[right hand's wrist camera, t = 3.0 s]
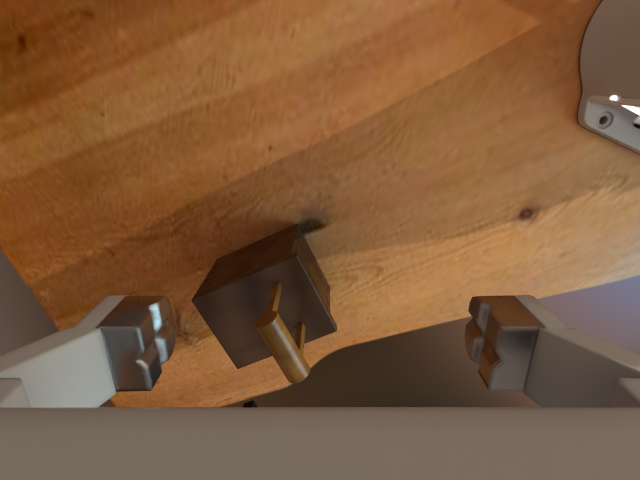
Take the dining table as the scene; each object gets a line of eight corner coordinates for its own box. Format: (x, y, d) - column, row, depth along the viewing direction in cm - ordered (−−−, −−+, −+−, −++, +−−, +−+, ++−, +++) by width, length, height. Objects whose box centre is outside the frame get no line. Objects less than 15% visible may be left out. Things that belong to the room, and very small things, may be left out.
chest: (297, 223, 45) (291, 253, 37) (329, 287, 48) (331, 327, 40) (217, 259, 47) (194, 294, 39) (253, 318, 50) (239, 362, 42)
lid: (297, 251, 37) (289, 295, 29) (336, 325, 40) (340, 384, 32) (194, 295, 39) (160, 348, 31) (239, 363, 42) (219, 427, 34)
